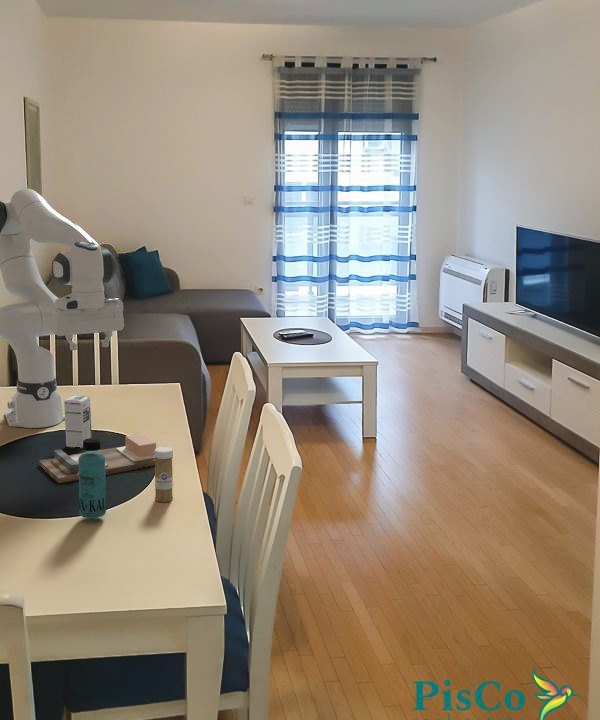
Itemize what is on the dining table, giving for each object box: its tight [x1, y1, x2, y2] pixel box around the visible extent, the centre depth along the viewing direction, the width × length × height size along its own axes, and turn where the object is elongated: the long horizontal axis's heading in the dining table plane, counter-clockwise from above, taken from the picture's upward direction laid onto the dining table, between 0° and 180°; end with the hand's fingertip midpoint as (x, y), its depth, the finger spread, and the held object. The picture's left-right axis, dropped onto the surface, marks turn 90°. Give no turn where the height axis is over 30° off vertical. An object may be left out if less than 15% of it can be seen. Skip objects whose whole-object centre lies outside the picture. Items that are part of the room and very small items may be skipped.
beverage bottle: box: [77, 437, 108, 519], centre depth 214 cm, size 6×7×20 cm
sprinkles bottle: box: [154, 446, 174, 503], centre depth 228 cm, size 5×5×14 cm
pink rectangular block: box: [115, 433, 157, 462], centre depth 259 cm, size 12×8×4 cm, turn 34°
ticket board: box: [38, 445, 155, 484], centre depth 252 cm, size 16×28×4 cm, turn 124°
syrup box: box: [63, 395, 93, 449], centre depth 269 cm, size 6×6×14 cm
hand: (89, 348), depth 257 cm, fingers open, 8 cm apart
